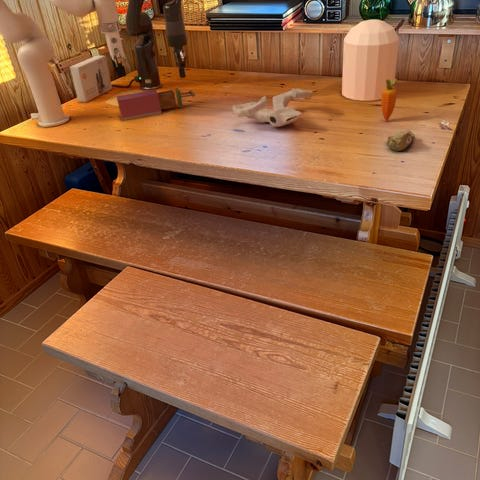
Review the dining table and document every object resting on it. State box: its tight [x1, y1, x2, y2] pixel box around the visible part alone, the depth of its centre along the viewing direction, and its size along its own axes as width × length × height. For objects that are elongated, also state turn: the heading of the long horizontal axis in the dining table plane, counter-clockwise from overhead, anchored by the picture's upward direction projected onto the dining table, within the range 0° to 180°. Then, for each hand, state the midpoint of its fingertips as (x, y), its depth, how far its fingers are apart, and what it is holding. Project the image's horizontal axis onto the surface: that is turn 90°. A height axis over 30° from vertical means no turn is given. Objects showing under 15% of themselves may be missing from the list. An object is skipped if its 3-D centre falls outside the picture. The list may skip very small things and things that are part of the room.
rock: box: [387, 129, 416, 152], centre depth 146 cm, size 11×6×10 cm
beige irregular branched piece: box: [231, 88, 314, 128], centre depth 171 cm, size 28×26×12 cm
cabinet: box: [115, 89, 162, 121], centre depth 191 cm, size 16×6×8 cm, turn 109°
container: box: [341, 18, 400, 102], centre depth 185 cm, size 21×21×28 cm
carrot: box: [380, 78, 398, 122], centre depth 161 cm, size 5×5×15 cm
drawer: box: [157, 87, 196, 110], centre depth 194 cm, size 21×5×7 cm, turn 109°
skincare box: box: [69, 54, 113, 103], centre depth 218 cm, size 21×6×16 cm, turn 158°
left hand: (120, 73), depth 183 cm, fingers open, 9 cm apart
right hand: (182, 77), depth 192 cm, fingers closed
